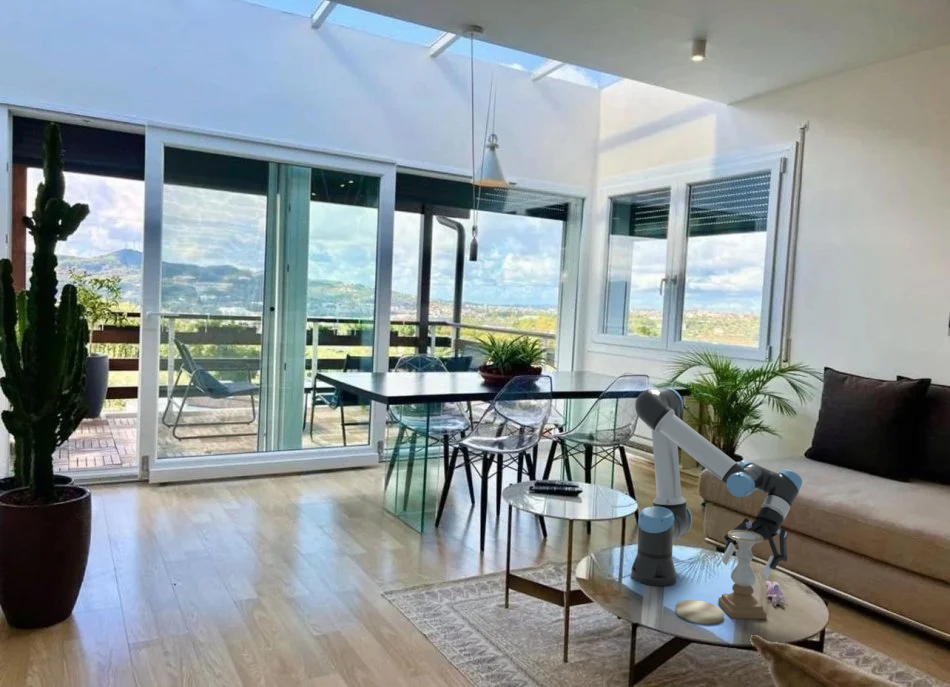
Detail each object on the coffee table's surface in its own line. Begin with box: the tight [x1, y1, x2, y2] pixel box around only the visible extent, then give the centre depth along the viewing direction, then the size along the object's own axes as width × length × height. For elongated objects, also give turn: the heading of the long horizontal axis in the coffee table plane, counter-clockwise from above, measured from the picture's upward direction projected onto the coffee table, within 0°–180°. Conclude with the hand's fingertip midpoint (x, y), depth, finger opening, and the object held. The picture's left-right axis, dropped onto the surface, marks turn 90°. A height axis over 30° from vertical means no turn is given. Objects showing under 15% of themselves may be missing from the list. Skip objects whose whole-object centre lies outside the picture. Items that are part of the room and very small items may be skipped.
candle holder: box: [717, 529, 768, 620], centre depth 208 cm, size 11×11×24 cm
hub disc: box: [675, 599, 725, 625], centre depth 206 cm, size 14×14×1 cm
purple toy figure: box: [765, 580, 788, 609], centre depth 219 cm, size 6×6×15 cm
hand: (743, 569), depth 207 cm, fingers open, 13 cm apart
